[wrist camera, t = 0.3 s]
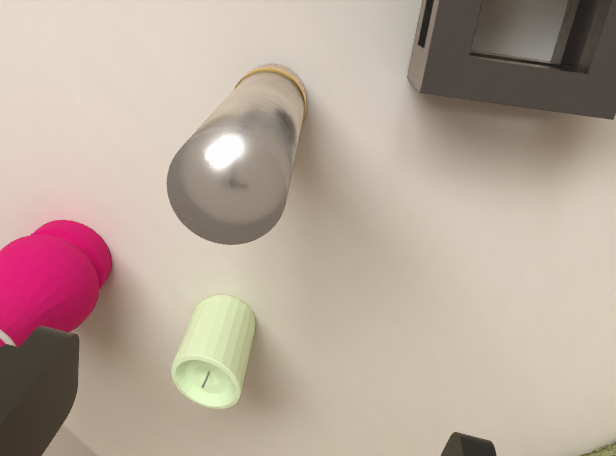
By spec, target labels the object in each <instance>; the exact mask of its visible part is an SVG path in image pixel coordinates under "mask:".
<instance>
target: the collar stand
mask: <svg viewBox="0 0 616 456" xmlns="http://www.w3.org/2000/svg"><path fill="white" fill-rule="evenodd" d="M481 3H482V0H422V5H421V10H420V15H419V20H418V25H417V30H416V35H415V40H414V45H413V50H412V56H411V61H410V66H409V71H408V76H407V78H408V79H409V80H410V82H411V83H412V84H413V85H414V86H415V88H416V89H417V90H418V91H419V92H420V93H426V94H433V95H440V96H447V97H454V98H461V99H469V100H476V101H483V102H490V103H497V104H504V105H512V106H519V107H526V108H533V109H540V110H547V111H555V112H562V113H569V114H576V115H583V116H590V117H598V118H605V119H612V120H613V119H614V116H615V114H616V0H569V3H568V6H567V9H566V13H565V16H564V19H563V23H562V26H561V29H560V33H559V36H558V39H557V43H556V46H555V49H554V53H553V56H552V59H551V62H550V61H543V60H536V59H529V58H522V57H515V56H508V55H501V54H494V53H487V52H480V51H472V50H470V49H471V45H472V41H473V36H474V32H475V28H476V24H477V20H478V16H479V11H480V7H481Z"/></svg>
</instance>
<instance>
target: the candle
mask: <svg viewBox="0 0 616 456" xmlns="http://www.w3.org/2000/svg"><path fill="white" fill-rule="evenodd" d="M255 325H256V322H255V317H254V315H253V312H252V310H251V309H250V308H249V307H248V306H247V304H245V303H244V302H242V301H241V300H240V299H237V298H235V297H232V296H227V295H215V296H212V297H209V298H207V299H205V300H203V301H202V302H201V303H200V304H199V305H198V306H197V307H196V309H195V312H194V314H193V316H192V319H191V321H190V324H189V326H188V328H187V331H186V333H185V336H184V338H183V340H182V343H181V345H180V348H179V350H178V353H177V355H176V357H175V360H174V362H173V365H172V367H171V376H172V379H173V382H174V383H175V385H176V387H177V388H178V390H179V391H180V392H181V393H182V394H183V395H184V396H186V397H187V398H188V399H189V400H191V401H193V402H195V403H196V404H198V405H201V406H204V407H207V408H212V409H225V408H228V407H232V406H233V405H234V404H236V403H237V402H238V400H239V399H240V396H241V391H242V387H243V382H244V378H245V373H246V368H247V364H248V359H249V355H250V350H251V345H252V341H253V336H254V331H255Z"/></svg>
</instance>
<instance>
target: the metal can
mask: <svg viewBox="0 0 616 456" xmlns="http://www.w3.org/2000/svg"><path fill="white" fill-rule="evenodd" d="M305 113H306V92H305V88H304V85H303V83H302V81H301V80H300V78H299V77H298V76H297V74H296V73H294V72H293V71H292V70H291V69H289V68H287V67H285V66H282V65H278V64H266V65H262V66H259V67H257V68H255V69H254V70H253V71H251V72H249V73H248V74H246V75H245V76H244V77H243V78H242V79H241V80H240V81H239V83H238V84H237V85H236V87H235V89H234V91H233V92H232V93H231V94H230V95H229V96H228V97H227V98H226V99H225V100H224V102H223V103H222V104H221V105H220V106H219V107H218V108H217V109H216V110H215V111H214V112H213V114H212V115H211V116H210V117H209V118H208V119H207V120H206V121H205V122H204V123H203V124H202V126H201V127H200V128H199V129H198V130H197V131H196V132H195V133H194V134H193V135H192V137H191V138H190V139H189V140H188V141H187V142H186V143H185V144H184V145H183V146H182V147H181V149H180V150H179V151H178V152H177V154H176V155H175V157H174V158H173V160H172V162H171V165H170V167H169V171H168V175H167V192H168V197H169V200H170V203H171V206H172V208H173V210H174V212H175V214H176V215H177V217H178V218H179V219H180V221H181V222H182V223H183V224H184V225H185V226H186V227H187V228H188V229H189V230H191V231H192V232H193V233H195V234H196V235H198V236H200V237H201V238H204V239H206V240H208V241H211V242H215V243H219V244H227V245H236V244H243V243H247V242H251V241H253V240H256V239H258V238H260V237H261V236H263V235H265V234H266V233H267V232H268V231H270V230H271V229H272V228H273V227H274V226H275V225H276V223H277V222H278V220H279V219H280V217H281V215H282V213H283V210H284V208H285V204H286V199H287V194H288V189H289V184H290V179H291V174H292V169H293V164H294V159H295V154H296V149H297V144H298V139H299V135H300V130H301V126H302V124H303V121H304V118H305Z"/></svg>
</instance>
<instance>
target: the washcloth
mask: <svg viewBox="0 0 616 456" xmlns="http://www.w3.org/2000/svg"><path fill="white" fill-rule="evenodd" d="M580 456H616V443H615V444H610V445H607V446H604V447H601V448H598V449H595V450H594V451H592V452H591V453H589V454H582V455H580Z"/></svg>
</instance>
